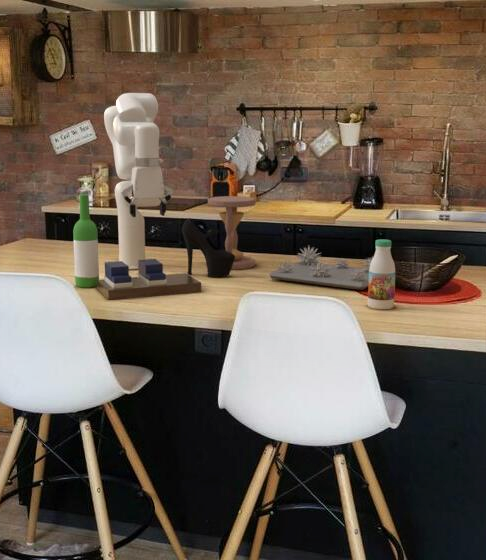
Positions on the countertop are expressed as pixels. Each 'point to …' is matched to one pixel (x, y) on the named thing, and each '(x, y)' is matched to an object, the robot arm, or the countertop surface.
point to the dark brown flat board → (151, 287)
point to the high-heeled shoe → (207, 250)
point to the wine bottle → (85, 247)
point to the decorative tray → (323, 272)
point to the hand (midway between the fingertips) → (147, 215)
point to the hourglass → (233, 226)
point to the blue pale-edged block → (151, 272)
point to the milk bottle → (381, 277)
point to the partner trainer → (117, 275)
